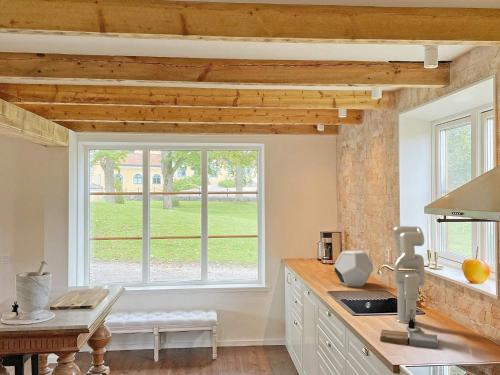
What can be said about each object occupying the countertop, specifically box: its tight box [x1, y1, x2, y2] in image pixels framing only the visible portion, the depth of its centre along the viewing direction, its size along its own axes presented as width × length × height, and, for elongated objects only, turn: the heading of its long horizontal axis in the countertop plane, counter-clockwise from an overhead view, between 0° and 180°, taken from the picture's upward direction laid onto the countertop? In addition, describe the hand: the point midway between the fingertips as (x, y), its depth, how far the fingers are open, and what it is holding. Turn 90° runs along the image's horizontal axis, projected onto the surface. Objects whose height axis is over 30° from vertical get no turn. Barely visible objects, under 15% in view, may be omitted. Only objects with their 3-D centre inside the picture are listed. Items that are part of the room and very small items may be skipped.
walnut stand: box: [379, 329, 409, 346], centre depth 249 cm, size 14×14×3 cm
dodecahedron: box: [333, 249, 374, 288], centre depth 403 cm, size 34×36×30 cm
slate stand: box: [408, 331, 439, 349], centre depth 244 cm, size 14×14×3 cm
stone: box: [405, 325, 426, 334], centre depth 261 cm, size 12×9×3 cm
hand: (411, 326), depth 259 cm, fingers open, 9 cm apart
